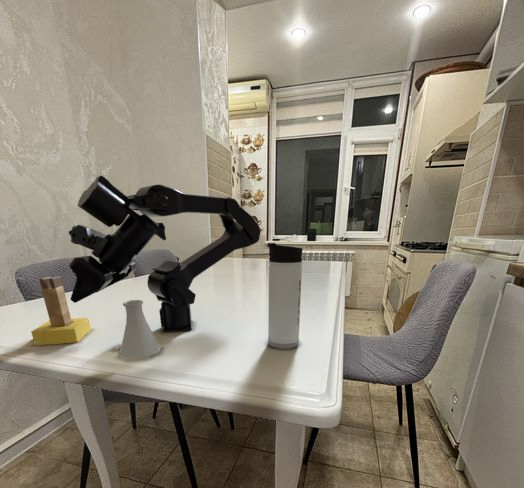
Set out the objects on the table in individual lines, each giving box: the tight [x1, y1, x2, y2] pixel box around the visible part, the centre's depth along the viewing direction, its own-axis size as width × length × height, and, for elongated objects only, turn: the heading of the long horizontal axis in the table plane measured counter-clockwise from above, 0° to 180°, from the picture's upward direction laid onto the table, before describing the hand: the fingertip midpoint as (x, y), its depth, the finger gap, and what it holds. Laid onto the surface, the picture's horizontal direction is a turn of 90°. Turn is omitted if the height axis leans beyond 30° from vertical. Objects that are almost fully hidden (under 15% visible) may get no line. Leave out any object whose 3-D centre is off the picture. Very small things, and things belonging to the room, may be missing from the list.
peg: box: [38, 276, 72, 327], centre depth 61 cm, size 3×3×13 cm
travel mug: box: [267, 242, 303, 350], centre depth 57 cm, size 6×7×20 cm
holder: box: [30, 317, 92, 346], centre depth 63 cm, size 8×8×3 cm
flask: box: [118, 299, 162, 360], centre depth 54 cm, size 7×7×10 cm
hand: (84, 295), depth 61 cm, fingers open, 9 cm apart
